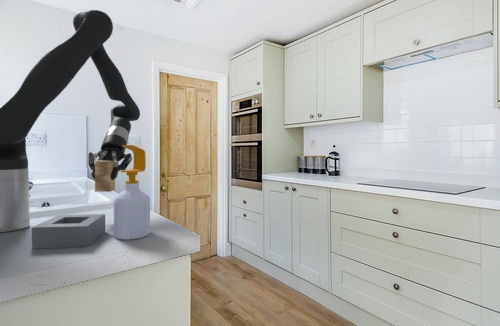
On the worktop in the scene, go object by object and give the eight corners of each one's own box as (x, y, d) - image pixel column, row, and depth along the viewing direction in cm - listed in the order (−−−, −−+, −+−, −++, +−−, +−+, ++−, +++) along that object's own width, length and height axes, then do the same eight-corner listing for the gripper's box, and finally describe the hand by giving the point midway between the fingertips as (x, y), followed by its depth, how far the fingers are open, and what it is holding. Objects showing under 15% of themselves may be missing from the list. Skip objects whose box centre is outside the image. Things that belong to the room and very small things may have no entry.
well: (32, 248, 65) (31, 227, 65) (59, 232, 77) (58, 214, 76) (87, 246, 67) (87, 226, 66) (105, 231, 79) (105, 214, 78)
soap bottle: (106, 237, 74) (105, 144, 72) (133, 228, 82) (133, 145, 81) (131, 242, 70) (130, 145, 69) (157, 232, 78) (156, 145, 77)
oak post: (94, 191, 88) (95, 161, 87) (100, 189, 92) (100, 160, 92) (110, 191, 88) (110, 161, 88) (115, 189, 93) (115, 160, 92)
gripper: (91, 132, 96) (74, 170, 84) (135, 134, 98) (124, 171, 86) (97, 148, 101) (82, 185, 90) (138, 149, 103) (129, 186, 92)
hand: (103, 178), depth 88 cm, fingers closed on oak post, 4 cm apart
